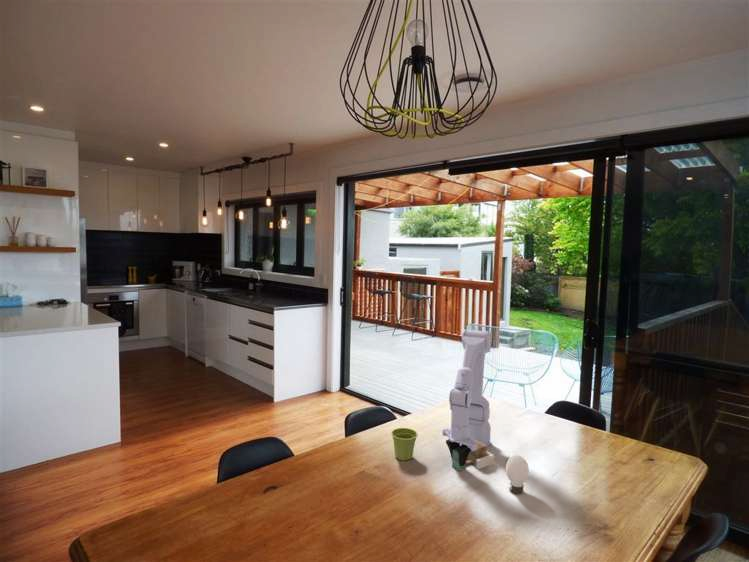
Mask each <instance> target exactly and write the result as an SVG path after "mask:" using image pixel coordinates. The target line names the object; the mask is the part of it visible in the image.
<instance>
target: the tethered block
mask: <svg viewBox="0 0 749 562" xmlns="http://www.w3.org/2000/svg"><path fill="white" fill-rule="evenodd" d="M473 442H475V443H476V444H477V450H475V451H472V450H471V451H470V453H469V455H468V457H467V460H466V464H465V465H464V466H460V465H459V454H458V450H457V449H454V450H453V454H452V458H451V461H452V463H451V464H452V465H451V467H452V468H453V469H455V470H457V471H461V470H464V469H465V468H466V466H467V465H469V464H472V465H473V466H475V467H476V460H477V459H480V458H482V457H485V456H487V452H488V446H487V445H485V444H483V443H481V442H479V441H477V440H476V441H473Z"/></svg>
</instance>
